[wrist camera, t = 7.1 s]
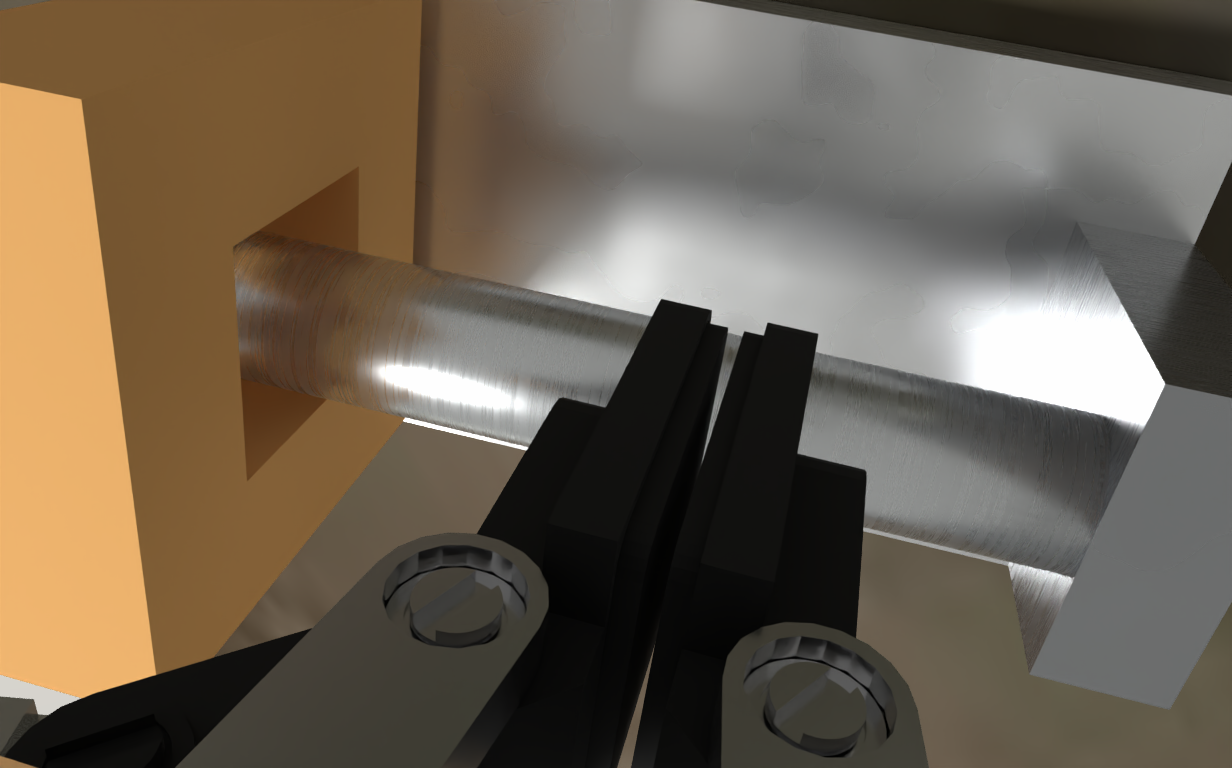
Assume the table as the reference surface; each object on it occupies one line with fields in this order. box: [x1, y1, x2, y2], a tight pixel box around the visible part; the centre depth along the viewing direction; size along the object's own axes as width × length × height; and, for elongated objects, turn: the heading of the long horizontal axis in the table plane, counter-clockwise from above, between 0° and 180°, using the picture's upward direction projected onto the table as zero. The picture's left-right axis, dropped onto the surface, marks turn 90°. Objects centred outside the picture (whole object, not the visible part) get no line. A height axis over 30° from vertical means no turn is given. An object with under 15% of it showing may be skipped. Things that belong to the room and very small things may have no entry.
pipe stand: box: [233, 0, 1232, 710], centre depth 18 cm, size 21×10×8 cm, turn 82°
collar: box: [0, 0, 422, 698], centre depth 16 cm, size 3×9×9 cm, turn 172°
